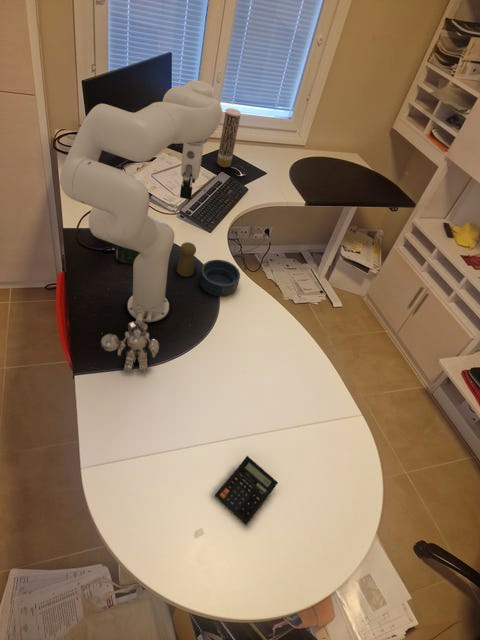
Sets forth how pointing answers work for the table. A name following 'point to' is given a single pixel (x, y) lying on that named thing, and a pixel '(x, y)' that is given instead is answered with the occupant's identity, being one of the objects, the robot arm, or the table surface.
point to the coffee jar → (126, 255)
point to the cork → (186, 259)
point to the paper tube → (228, 137)
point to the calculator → (246, 490)
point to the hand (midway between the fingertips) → (187, 189)
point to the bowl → (219, 277)
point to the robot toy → (132, 345)
